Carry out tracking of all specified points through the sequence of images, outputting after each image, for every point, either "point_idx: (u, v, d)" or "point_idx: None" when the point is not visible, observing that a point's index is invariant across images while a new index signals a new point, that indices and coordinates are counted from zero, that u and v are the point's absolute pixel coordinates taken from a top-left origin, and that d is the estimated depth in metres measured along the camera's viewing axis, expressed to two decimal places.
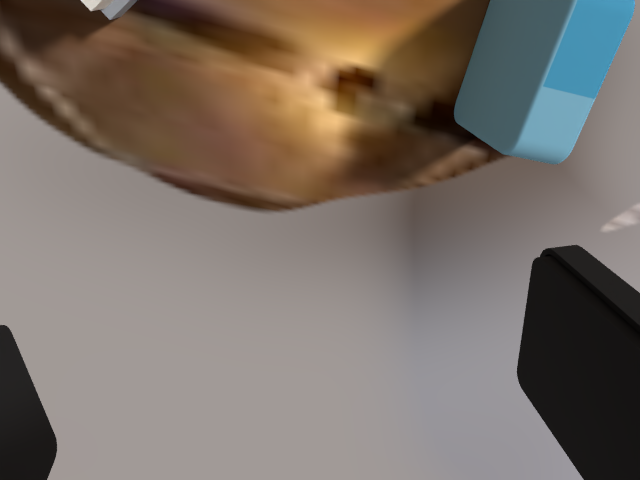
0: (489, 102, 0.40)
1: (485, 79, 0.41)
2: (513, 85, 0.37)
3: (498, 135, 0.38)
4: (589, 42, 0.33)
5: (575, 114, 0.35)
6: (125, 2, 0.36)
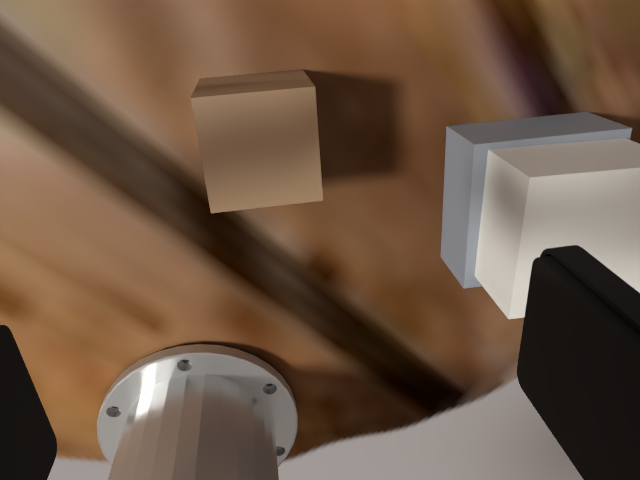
0: None
1: None
2: None
3: None
4: None
5: None
6: (599, 133, 0.25)
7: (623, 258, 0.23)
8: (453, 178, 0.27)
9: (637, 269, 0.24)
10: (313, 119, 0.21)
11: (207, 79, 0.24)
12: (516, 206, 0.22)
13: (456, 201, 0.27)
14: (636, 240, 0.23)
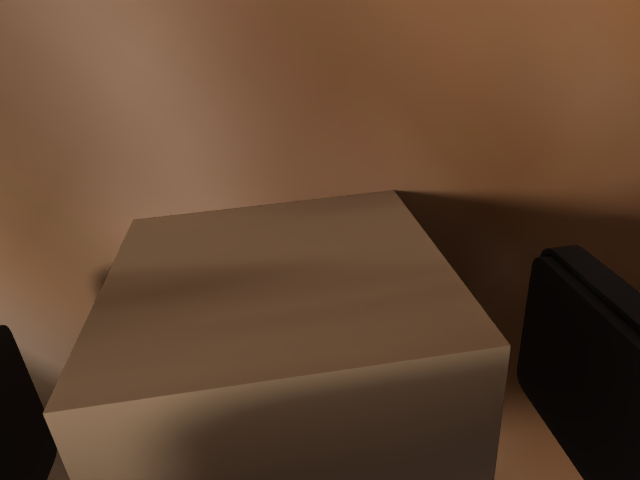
0: None
1: None
2: None
3: None
4: None
5: None
6: None
7: None
8: None
9: None
10: (486, 434, 0.06)
11: (150, 227, 0.09)
12: None
13: None
14: None
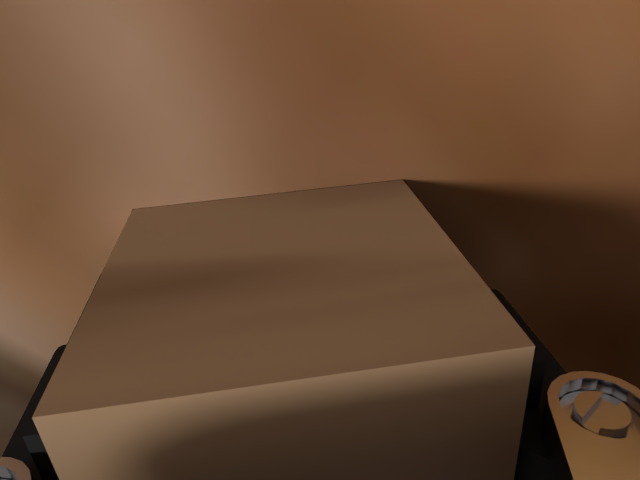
0: None
1: None
2: None
3: None
4: None
5: None
6: None
7: None
8: None
9: None
10: (506, 439, 0.06)
11: (150, 219, 0.09)
12: None
13: None
14: None
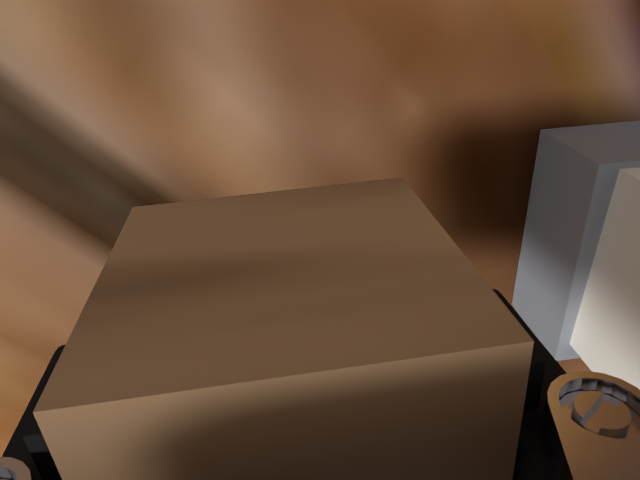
0: None
1: None
2: None
3: None
4: None
5: None
6: None
7: None
8: (547, 205, 0.19)
9: None
10: (506, 435, 0.06)
11: (150, 217, 0.09)
12: None
13: (551, 240, 0.19)
14: None
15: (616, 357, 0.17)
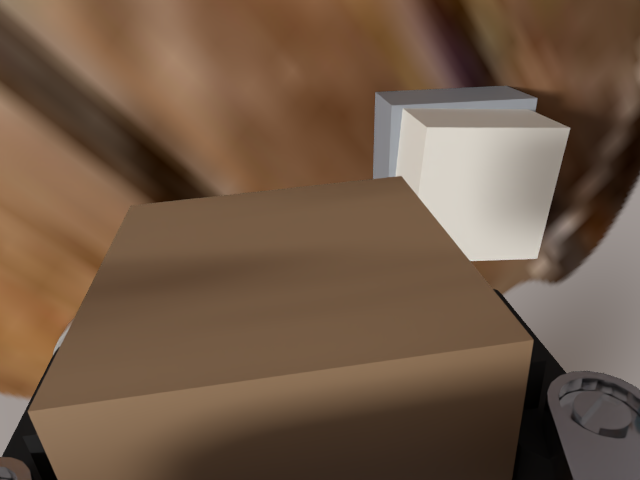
0: None
1: None
2: None
3: None
4: None
5: None
6: (507, 101, 0.27)
7: (513, 213, 0.26)
8: (379, 140, 0.30)
9: (527, 225, 0.26)
10: (505, 435, 0.06)
11: (148, 215, 0.09)
12: (418, 155, 0.24)
13: (381, 161, 0.30)
14: (525, 197, 0.26)
15: None
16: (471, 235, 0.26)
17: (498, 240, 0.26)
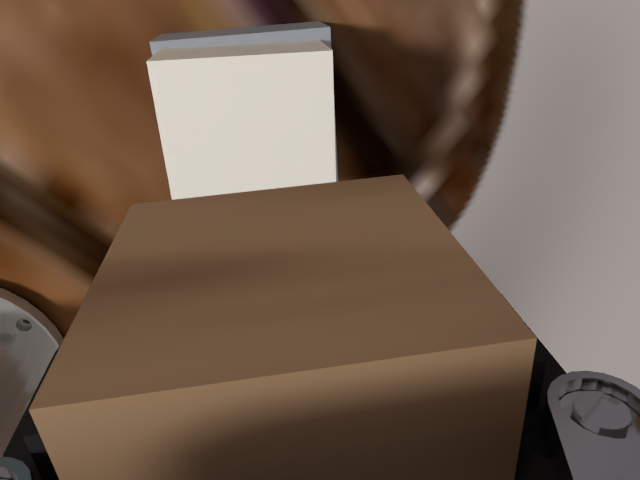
0: None
1: None
2: None
3: None
4: None
5: None
6: (293, 32, 0.23)
7: (291, 161, 0.22)
8: None
9: (312, 175, 0.22)
10: (508, 433, 0.06)
11: (149, 214, 0.09)
12: None
13: None
14: (300, 141, 0.21)
15: None
16: (245, 191, 0.22)
17: None
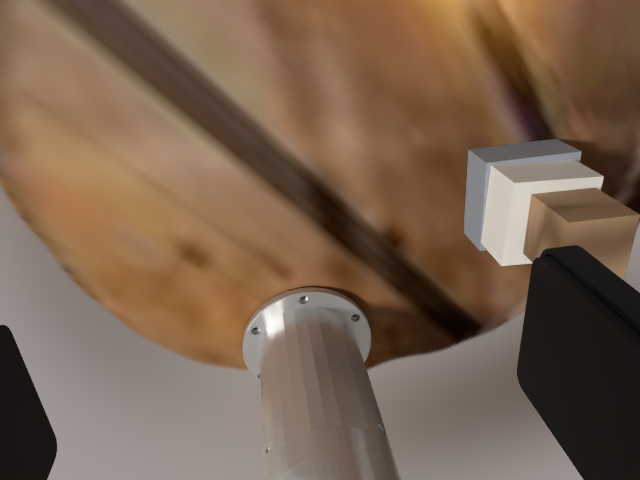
0: None
1: None
2: None
3: None
4: None
5: None
6: (561, 154, 0.41)
7: None
8: (473, 182, 0.44)
9: None
10: (633, 232, 0.35)
11: (540, 196, 0.38)
12: (507, 199, 0.39)
13: (475, 196, 0.44)
14: None
15: (494, 241, 0.42)
16: None
17: None
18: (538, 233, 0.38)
